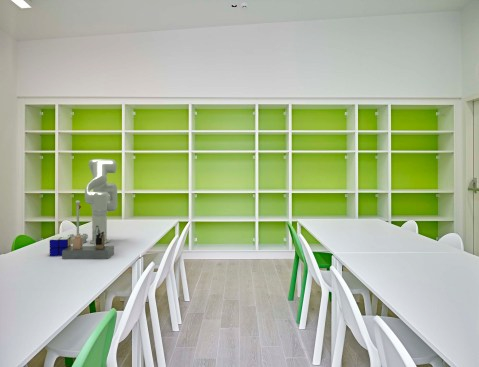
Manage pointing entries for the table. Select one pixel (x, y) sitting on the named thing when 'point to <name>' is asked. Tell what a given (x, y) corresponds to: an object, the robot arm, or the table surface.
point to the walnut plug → (102, 242)
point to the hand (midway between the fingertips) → (100, 243)
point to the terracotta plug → (77, 242)
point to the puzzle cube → (59, 245)
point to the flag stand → (78, 227)
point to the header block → (88, 252)
